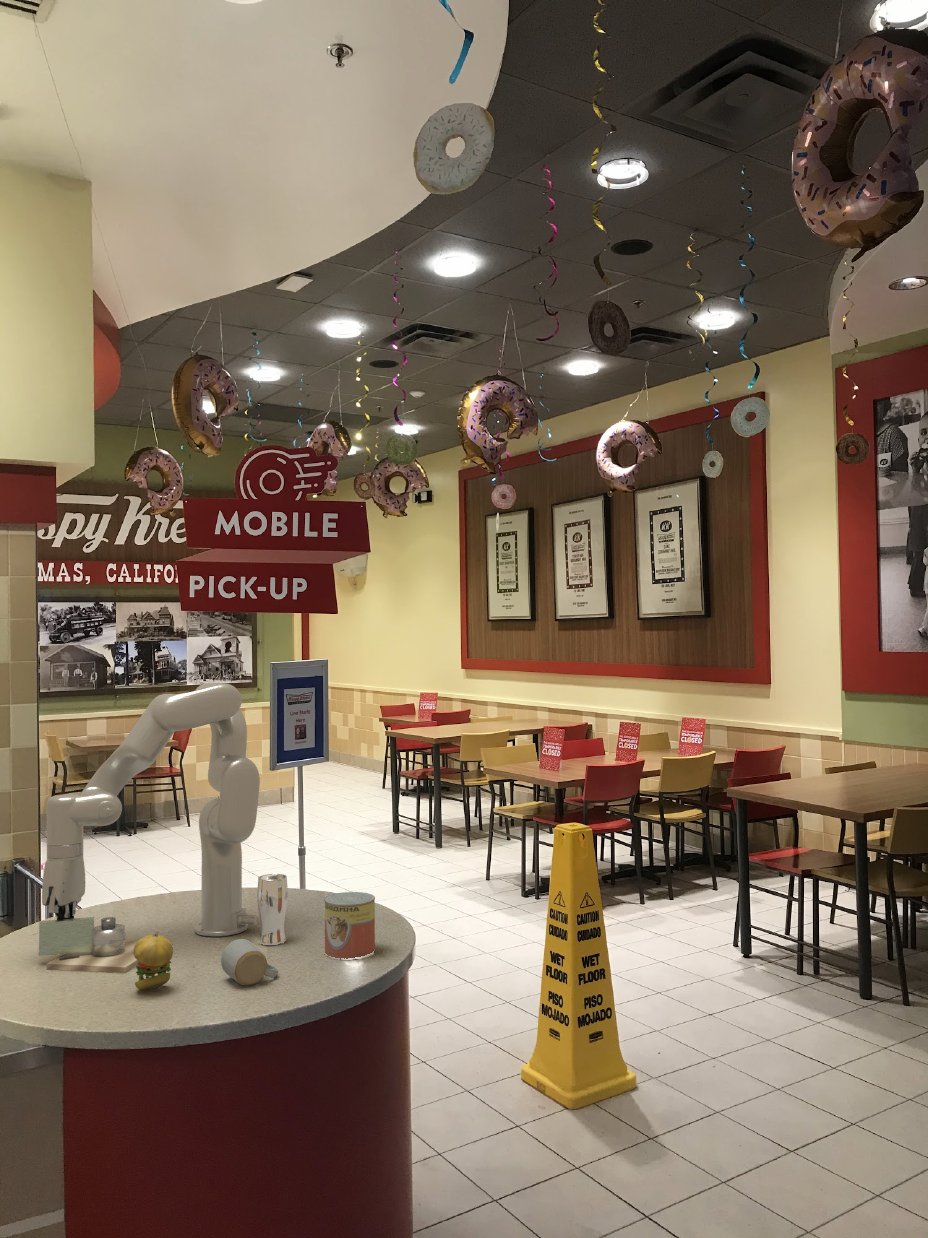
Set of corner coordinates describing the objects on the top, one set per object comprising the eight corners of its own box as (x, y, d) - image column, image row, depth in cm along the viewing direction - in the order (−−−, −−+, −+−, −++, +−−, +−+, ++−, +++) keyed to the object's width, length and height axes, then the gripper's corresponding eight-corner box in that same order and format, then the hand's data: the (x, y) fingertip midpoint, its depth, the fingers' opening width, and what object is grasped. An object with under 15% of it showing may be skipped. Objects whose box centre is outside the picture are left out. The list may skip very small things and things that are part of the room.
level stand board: (165, 947, 217) (165, 940, 217) (125, 973, 199) (125, 966, 199) (92, 944, 220) (92, 937, 220) (46, 969, 202) (46, 962, 202)
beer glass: (280, 947, 216) (280, 881, 216) (252, 946, 217) (252, 879, 218) (292, 938, 223) (292, 874, 223) (264, 937, 224) (264, 873, 225)
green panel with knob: (126, 945, 214) (126, 911, 214) (123, 954, 207) (124, 919, 207) (41, 952, 209) (42, 918, 209) (36, 962, 202) (37, 926, 202)
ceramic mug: (235, 991, 188) (235, 951, 188) (220, 979, 194) (220, 941, 195) (284, 981, 194) (285, 943, 194) (268, 970, 201) (269, 933, 201)
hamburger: (162, 981, 194) (163, 922, 194) (180, 990, 188) (180, 929, 189) (126, 991, 188) (126, 929, 189) (143, 1000, 183) (143, 937, 184)
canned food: (314, 956, 209) (314, 901, 210) (342, 942, 219) (342, 890, 220) (358, 963, 204) (357, 906, 205) (384, 948, 214) (384, 895, 215)
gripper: (69, 844, 219) (69, 924, 218) (29, 858, 204) (29, 944, 204) (99, 844, 218) (99, 925, 217) (60, 858, 203) (61, 945, 202)
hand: (65, 934), depth 210 cm, fingers closed
